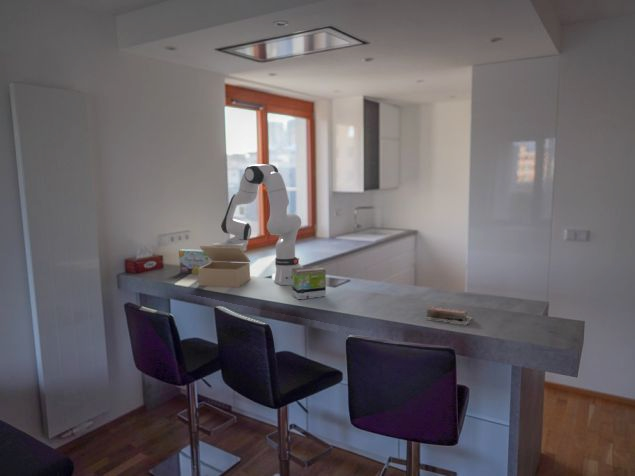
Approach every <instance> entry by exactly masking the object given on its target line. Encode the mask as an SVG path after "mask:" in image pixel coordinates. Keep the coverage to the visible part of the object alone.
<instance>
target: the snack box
mask: <svg viewBox="0 0 635 476" xmlns="http://www.w3.org/2000/svg"><path fill="white" fill-rule="evenodd" d="M178 259H179V270H180V273H181V274H192V273H194V275H198V268H200V267H202V266H205V265H207V264H209V263H211V262H213V261H212V260H211V259H210V258H209V257H208V256H207V255H206V254H205V253H204V251H203V250H202V249H192V248H186V249H185V248H182V249H179V250H178Z"/></svg>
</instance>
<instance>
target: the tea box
mask: <svg viewBox="0 0 635 476" xmlns="http://www.w3.org/2000/svg"><path fill="white" fill-rule="evenodd" d="M326 272H327V271H326V268H323V267H321V266H319V265H313V266H305V267H304V266H303V267H301V268H292V285H291V287H292V294H291V295H292V296H293V297H294V298H295V297H296V298H295V299H297V300H298V299H301V300H306V299H307V298H308V299H315V298H314V297H318V298H322V297H321V296H325V297H326V295H327V294H326V293H327V291H326V290H327V289H326V287H327V286H326V285H327V283H326V274H327V273H326ZM308 299H307V300H308Z"/></svg>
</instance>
